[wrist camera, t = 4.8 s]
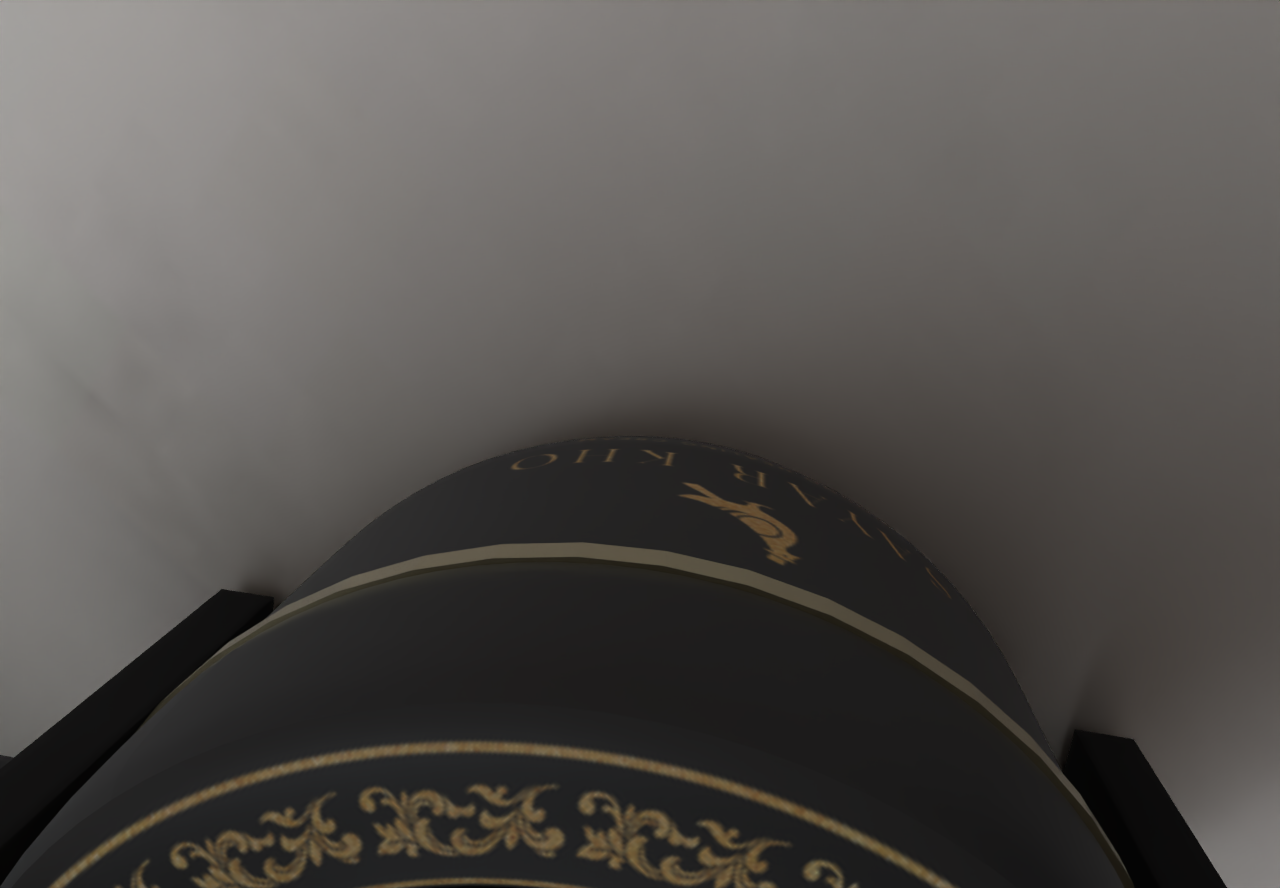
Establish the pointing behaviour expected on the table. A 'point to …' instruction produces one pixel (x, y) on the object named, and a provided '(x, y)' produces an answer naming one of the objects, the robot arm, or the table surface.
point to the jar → (596, 705)
